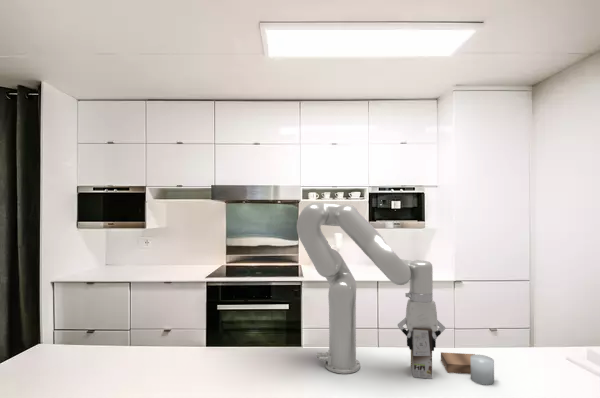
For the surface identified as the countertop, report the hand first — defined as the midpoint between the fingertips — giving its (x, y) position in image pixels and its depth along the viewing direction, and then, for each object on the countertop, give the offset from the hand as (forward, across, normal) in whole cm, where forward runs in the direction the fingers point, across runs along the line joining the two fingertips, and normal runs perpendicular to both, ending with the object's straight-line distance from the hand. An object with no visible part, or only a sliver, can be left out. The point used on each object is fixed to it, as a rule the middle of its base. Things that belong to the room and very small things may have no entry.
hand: (421, 348), depth 130 cm
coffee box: (+8, 0, 0) cm, 8 cm away
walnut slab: (+8, +15, +6) cm, 18 cm away
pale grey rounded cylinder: (+8, +19, -3) cm, 21 cm away
